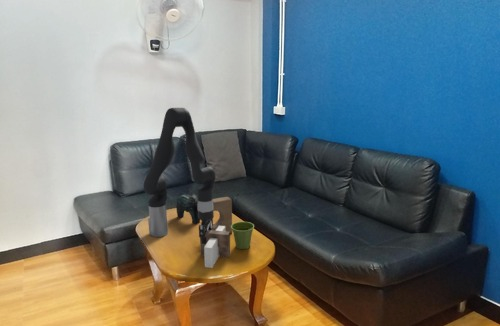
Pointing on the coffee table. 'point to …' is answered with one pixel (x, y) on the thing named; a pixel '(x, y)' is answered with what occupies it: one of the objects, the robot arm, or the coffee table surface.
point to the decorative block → (223, 213)
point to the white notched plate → (212, 249)
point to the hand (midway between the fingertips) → (206, 239)
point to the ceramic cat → (188, 206)
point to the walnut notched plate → (222, 242)
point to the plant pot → (242, 234)
